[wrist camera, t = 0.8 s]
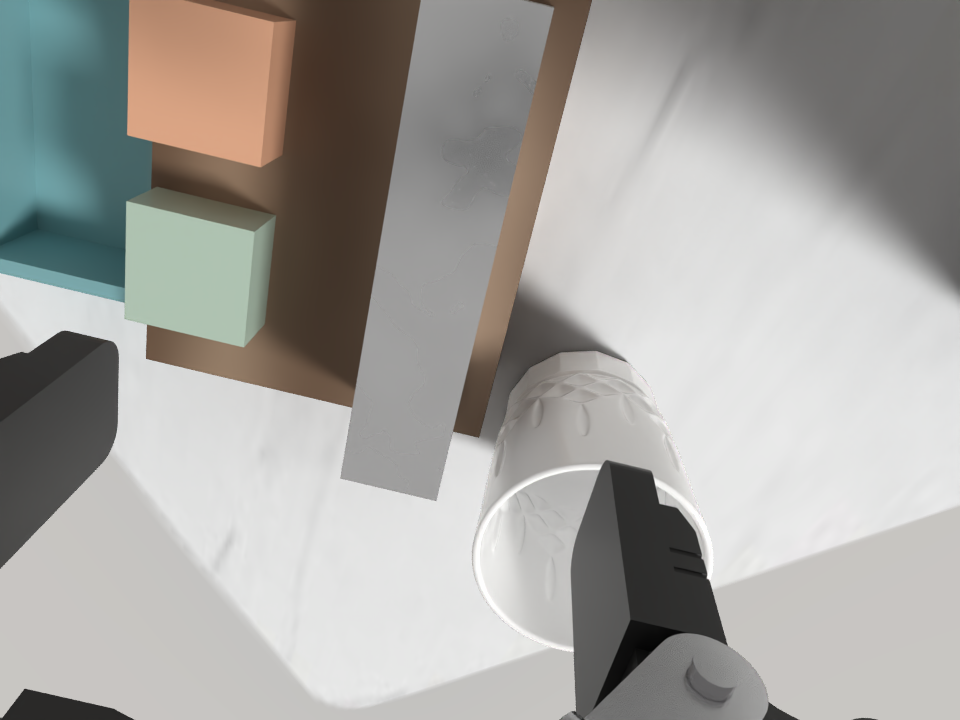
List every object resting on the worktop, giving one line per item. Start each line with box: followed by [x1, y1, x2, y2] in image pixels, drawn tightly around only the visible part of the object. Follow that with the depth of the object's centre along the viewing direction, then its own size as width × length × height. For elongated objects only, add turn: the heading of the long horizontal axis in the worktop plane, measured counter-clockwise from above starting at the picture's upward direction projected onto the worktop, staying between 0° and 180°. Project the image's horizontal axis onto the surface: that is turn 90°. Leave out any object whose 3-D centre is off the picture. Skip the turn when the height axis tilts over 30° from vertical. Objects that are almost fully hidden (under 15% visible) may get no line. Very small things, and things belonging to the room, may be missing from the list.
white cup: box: [472, 351, 713, 652], centre depth 30 cm, size 8×8×10 cm
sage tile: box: [125, 187, 276, 347], centre depth 25 cm, size 4×4×2 cm
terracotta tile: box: [127, 0, 296, 167], centre depth 22 cm, size 4×4×2 cm
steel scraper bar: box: [341, 0, 554, 501], centre depth 22 cm, size 3×14×5 cm, turn 168°
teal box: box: [0, 0, 152, 303], centre depth 28 cm, size 8×13×4 cm, turn 168°
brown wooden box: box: [146, 0, 592, 438], centre depth 27 cm, size 12×15×6 cm
